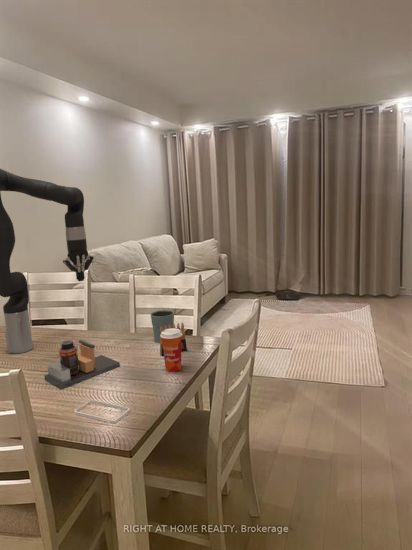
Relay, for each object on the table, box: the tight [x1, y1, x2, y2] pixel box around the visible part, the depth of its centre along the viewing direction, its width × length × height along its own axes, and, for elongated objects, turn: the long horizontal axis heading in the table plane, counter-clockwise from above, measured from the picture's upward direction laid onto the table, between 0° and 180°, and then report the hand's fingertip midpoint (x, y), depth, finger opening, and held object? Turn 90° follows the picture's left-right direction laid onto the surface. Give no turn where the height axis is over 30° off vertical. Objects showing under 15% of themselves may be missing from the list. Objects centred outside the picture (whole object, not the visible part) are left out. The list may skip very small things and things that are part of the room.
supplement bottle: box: [58, 339, 79, 375], centre depth 139 cm, size 6×6×11 cm
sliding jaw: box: [78, 339, 96, 373], centre depth 143 cm, size 5×10×9 cm, turn 47°
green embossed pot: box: [150, 309, 175, 344], centre depth 173 cm, size 10×10×12 cm
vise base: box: [44, 354, 121, 390], centre depth 143 cm, size 23×12×6 cm, turn 137°
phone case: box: [73, 399, 131, 424], centre depth 115 cm, size 7×1×15 cm
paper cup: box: [160, 327, 182, 373], centre depth 142 cm, size 8×8×14 cm
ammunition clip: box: [159, 321, 188, 358], centre depth 157 cm, size 11×2×12 cm, turn 116°
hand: (80, 280), depth 162 cm, fingers closed
